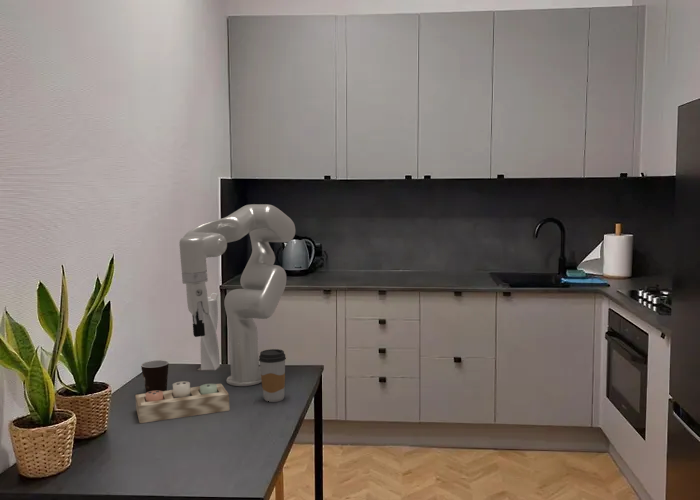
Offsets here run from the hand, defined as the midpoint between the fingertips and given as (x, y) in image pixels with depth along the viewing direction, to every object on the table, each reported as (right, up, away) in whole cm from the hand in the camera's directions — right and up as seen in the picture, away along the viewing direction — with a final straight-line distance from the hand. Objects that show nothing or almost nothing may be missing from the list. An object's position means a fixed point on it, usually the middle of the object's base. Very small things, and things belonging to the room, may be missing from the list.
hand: (199, 335), depth 227 cm
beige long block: (-4, -22, -5) cm, 23 cm away
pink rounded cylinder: (-12, -21, -8) cm, 25 cm away
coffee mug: (-16, -20, +14) cm, 30 cm away
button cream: (-4, -19, -5) cm, 20 cm away
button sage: (+3, -20, -2) cm, 20 cm away
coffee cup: (+23, -20, +4) cm, 31 cm away
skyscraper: (-4, -17, +42) cm, 46 cm away
